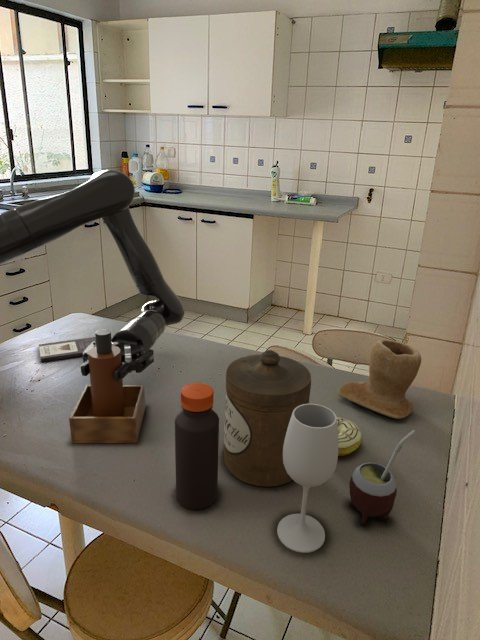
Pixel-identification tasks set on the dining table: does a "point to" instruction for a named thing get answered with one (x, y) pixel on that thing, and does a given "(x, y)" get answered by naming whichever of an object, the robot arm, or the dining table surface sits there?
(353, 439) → the decorated donut
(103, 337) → the sauce bottle
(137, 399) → the wooden box
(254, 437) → the wooden container
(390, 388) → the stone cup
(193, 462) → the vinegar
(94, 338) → the chocolate bar
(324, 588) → the dining table surface
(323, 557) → the dining table surface
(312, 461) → the wineglass
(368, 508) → the mate gourd
